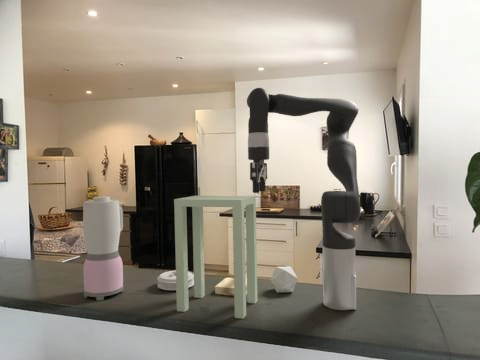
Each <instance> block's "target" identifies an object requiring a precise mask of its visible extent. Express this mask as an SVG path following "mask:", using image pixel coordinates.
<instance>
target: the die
mask: <svg viewBox="0 0 480 360" xmlns="http://www.w3.org/2000/svg"><path fill="white" fill-rule="evenodd" d="M270 281H271V284H272V285H273V287H274V289H275V291H276V293H279V294H280V293H293V292H294V289H295V287H296V285H297V281H298V277H297V274H296V273H295V271H294V269H293V268H292V266H275V267H274V270H273V273H272V276H271V279H270Z"/></svg>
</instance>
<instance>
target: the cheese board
mask: <svg viewBox="0 0 480 360" xmlns="http://www.w3.org/2000/svg"><path fill="white" fill-rule="evenodd" d="M245 276H246V296H247V269H245ZM214 294H215V295H222V294H223V295H225V296H232V297H234V277H225V278H224V279H223V280H221V281H220V282H218V283H217V284H216V285H215V286H214Z"/></svg>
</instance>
